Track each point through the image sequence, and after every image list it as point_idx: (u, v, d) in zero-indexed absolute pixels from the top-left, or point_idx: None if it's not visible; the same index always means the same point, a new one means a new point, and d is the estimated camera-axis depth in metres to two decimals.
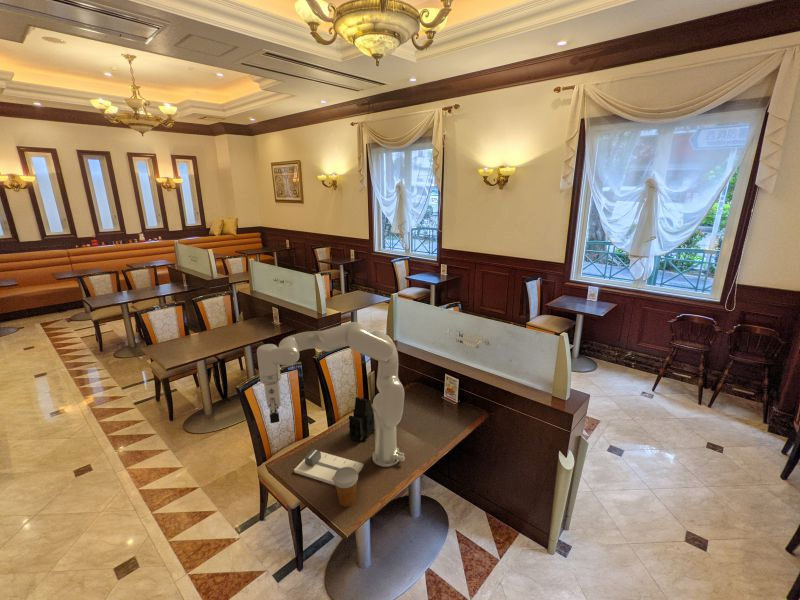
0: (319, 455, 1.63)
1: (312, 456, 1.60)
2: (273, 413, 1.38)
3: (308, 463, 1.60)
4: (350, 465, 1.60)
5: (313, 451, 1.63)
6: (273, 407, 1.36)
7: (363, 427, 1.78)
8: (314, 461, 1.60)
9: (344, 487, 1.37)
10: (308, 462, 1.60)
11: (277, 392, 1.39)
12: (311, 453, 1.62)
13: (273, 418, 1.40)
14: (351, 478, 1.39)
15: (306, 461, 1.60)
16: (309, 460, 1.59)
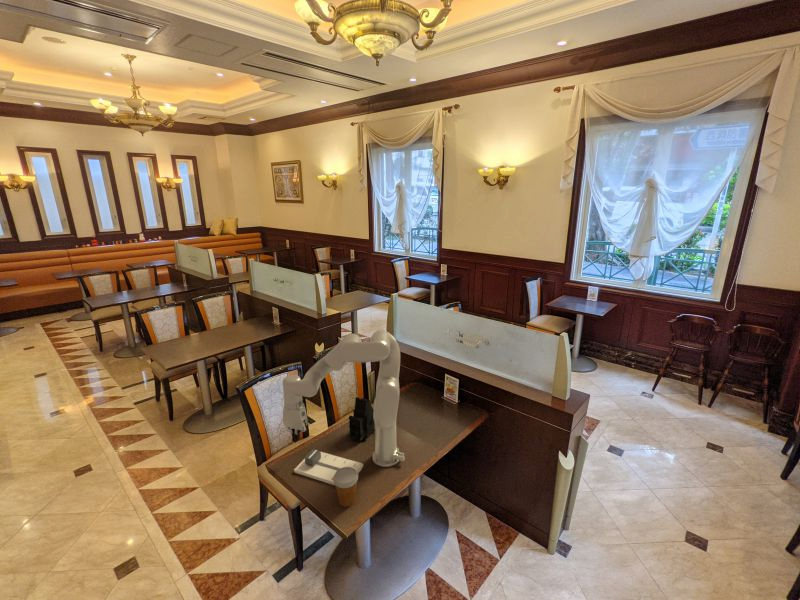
0: (319, 455, 1.63)
1: (312, 456, 1.60)
2: (299, 432, 1.61)
3: (308, 463, 1.60)
4: (350, 465, 1.60)
5: (313, 451, 1.63)
6: (305, 430, 1.60)
7: (363, 427, 1.78)
8: (314, 461, 1.60)
9: (344, 487, 1.37)
10: (308, 462, 1.60)
11: None
12: (311, 453, 1.62)
13: (298, 437, 1.62)
14: (351, 478, 1.39)
15: (306, 461, 1.60)
16: (309, 460, 1.59)
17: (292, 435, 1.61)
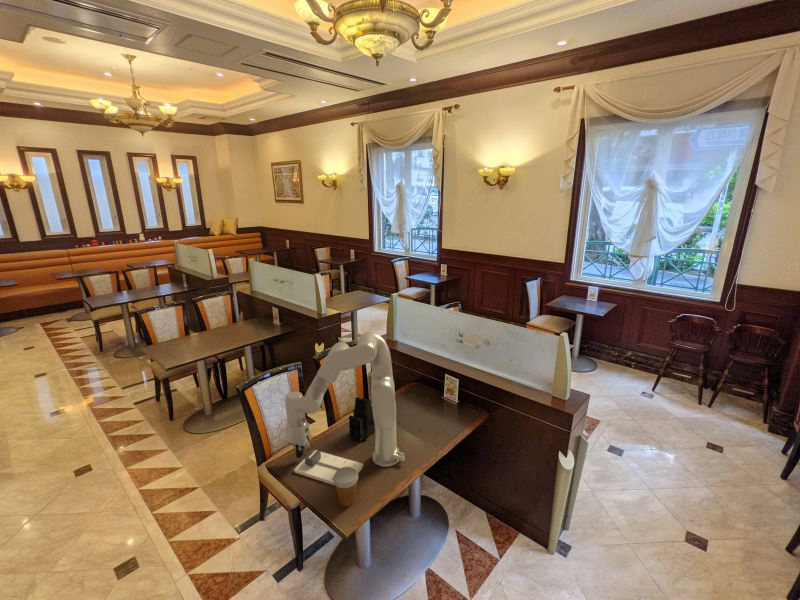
0: (319, 455, 1.63)
1: (312, 456, 1.60)
2: (303, 447, 1.63)
3: (308, 463, 1.60)
4: (350, 465, 1.60)
5: (313, 451, 1.63)
6: (308, 445, 1.62)
7: (363, 427, 1.78)
8: (314, 461, 1.60)
9: (344, 487, 1.37)
10: (308, 462, 1.60)
11: None
12: (311, 453, 1.62)
13: (301, 452, 1.64)
14: (351, 478, 1.39)
15: (306, 461, 1.60)
16: (309, 460, 1.59)
17: (296, 451, 1.63)
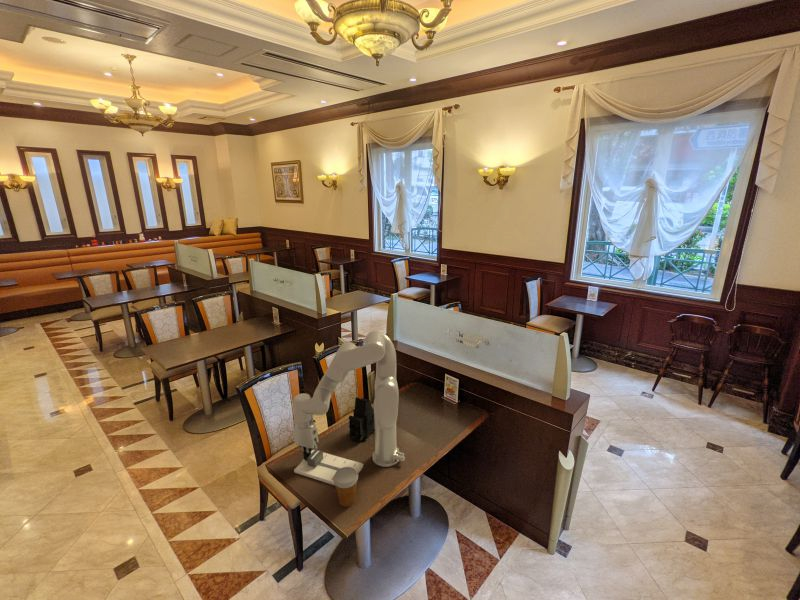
0: (321, 456, 1.63)
1: (314, 457, 1.60)
2: None
3: (311, 463, 1.59)
4: (350, 465, 1.60)
5: (315, 452, 1.63)
6: (316, 448, 1.60)
7: (363, 427, 1.78)
8: (317, 461, 1.60)
9: (344, 487, 1.37)
10: (310, 463, 1.59)
11: None
12: (313, 454, 1.62)
13: (309, 455, 1.62)
14: (351, 478, 1.39)
15: (308, 461, 1.60)
16: (311, 461, 1.59)
17: (303, 453, 1.62)
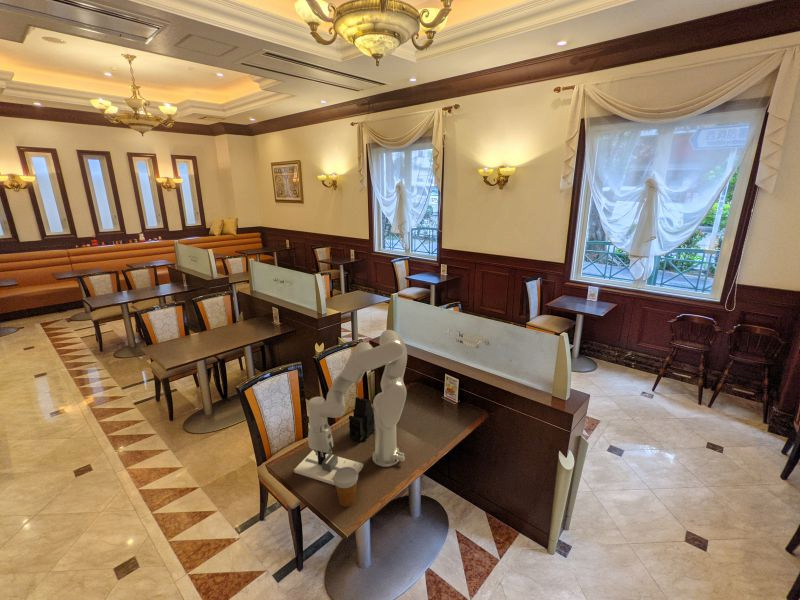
0: (336, 460, 1.60)
1: (329, 461, 1.57)
2: (325, 454, 1.59)
3: (325, 468, 1.57)
4: (350, 465, 1.60)
5: (330, 456, 1.60)
6: (331, 452, 1.57)
7: (363, 427, 1.78)
8: (331, 466, 1.57)
9: (344, 487, 1.37)
10: (325, 467, 1.56)
11: (331, 435, 1.57)
12: (328, 458, 1.59)
13: (324, 459, 1.59)
14: (351, 478, 1.39)
15: (323, 466, 1.57)
16: (326, 465, 1.56)
17: (318, 457, 1.59)
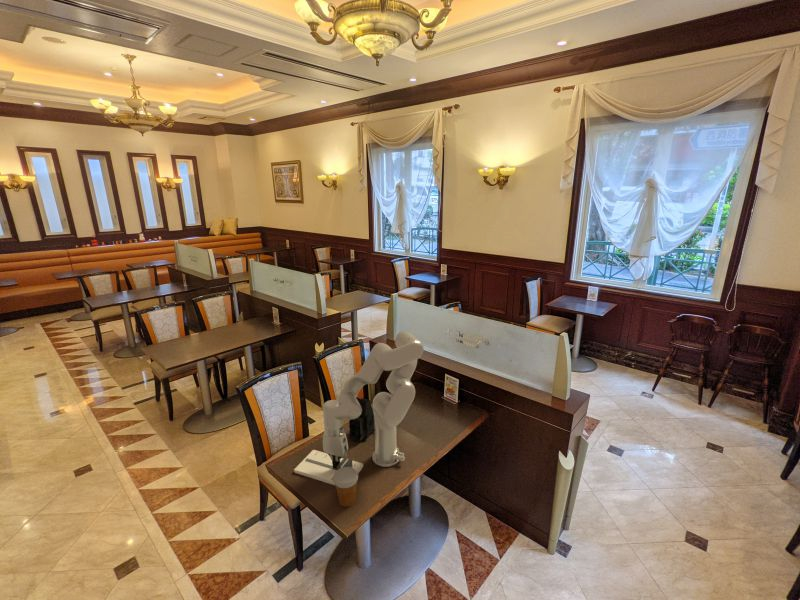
0: (351, 464, 1.57)
1: (344, 465, 1.54)
2: (340, 458, 1.56)
3: None
4: None
5: (344, 460, 1.57)
6: (346, 456, 1.55)
7: (363, 427, 1.78)
8: None
9: (344, 487, 1.37)
10: None
11: (346, 439, 1.55)
12: (343, 462, 1.56)
13: (338, 463, 1.57)
14: (351, 478, 1.39)
15: None
16: None
17: (332, 462, 1.56)
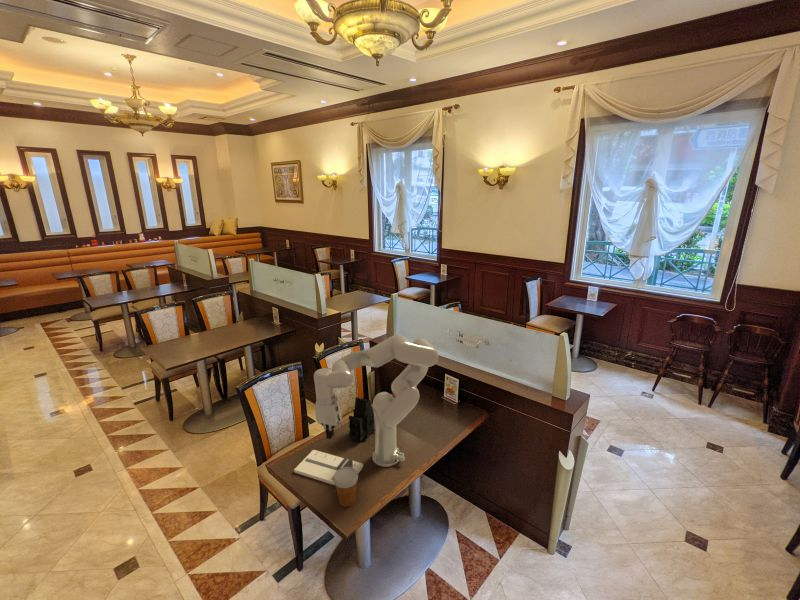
0: (351, 464, 1.57)
1: (344, 465, 1.54)
2: (334, 427, 1.53)
3: None
4: None
5: (345, 460, 1.57)
6: (339, 425, 1.52)
7: (363, 427, 1.78)
8: None
9: (344, 487, 1.37)
10: None
11: (339, 408, 1.52)
12: (343, 462, 1.56)
13: (332, 433, 1.54)
14: (351, 478, 1.39)
15: None
16: None
17: (326, 431, 1.54)
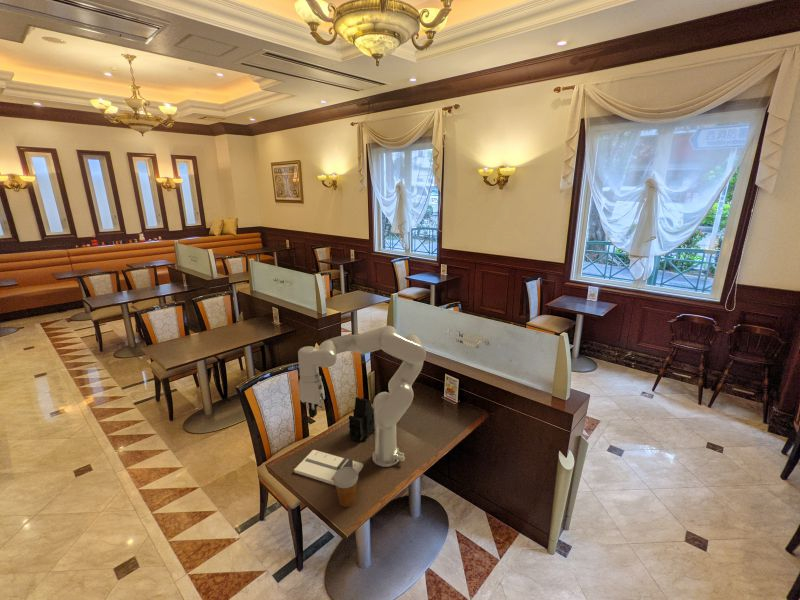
0: (351, 464, 1.57)
1: (344, 465, 1.54)
2: (316, 406, 1.53)
3: None
4: None
5: (345, 460, 1.57)
6: (322, 404, 1.52)
7: (363, 427, 1.78)
8: None
9: (344, 487, 1.37)
10: None
11: None
12: (343, 462, 1.56)
13: (315, 412, 1.54)
14: (351, 478, 1.39)
15: None
16: None
17: (309, 410, 1.54)
